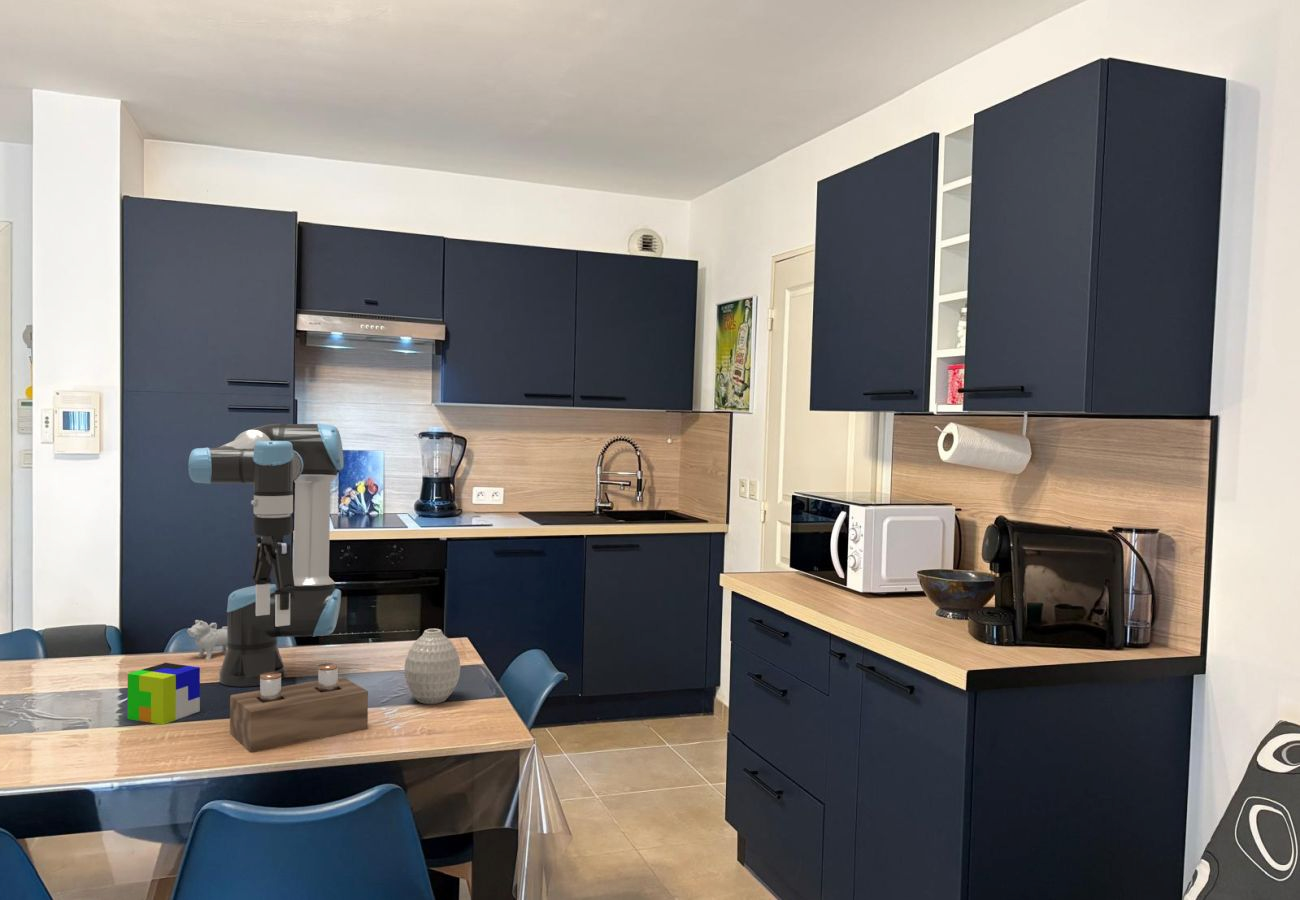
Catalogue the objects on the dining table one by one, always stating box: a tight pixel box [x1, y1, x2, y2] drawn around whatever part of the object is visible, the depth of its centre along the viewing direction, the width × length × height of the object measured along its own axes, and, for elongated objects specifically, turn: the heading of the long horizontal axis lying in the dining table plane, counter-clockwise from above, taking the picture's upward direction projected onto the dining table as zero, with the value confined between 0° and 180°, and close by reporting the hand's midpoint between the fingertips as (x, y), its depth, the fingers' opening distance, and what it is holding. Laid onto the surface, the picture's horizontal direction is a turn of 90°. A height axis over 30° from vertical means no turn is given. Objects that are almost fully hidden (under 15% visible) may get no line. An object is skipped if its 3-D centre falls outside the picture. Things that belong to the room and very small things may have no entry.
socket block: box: [229, 676, 369, 753], centre depth 196 cm, size 14×24×8 cm, turn 130°
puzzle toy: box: [127, 662, 201, 726], centre depth 204 cm, size 10×10×10 cm
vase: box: [403, 628, 461, 705], centre depth 218 cm, size 13×13×17 cm
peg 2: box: [317, 662, 339, 693], centre depth 199 cm, size 4×4×8 cm
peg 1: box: [259, 672, 282, 703], centre depth 192 cm, size 4×4×8 cm
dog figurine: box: [186, 619, 227, 661], centre depth 254 cm, size 5×13×11 cm, turn 145°
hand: (272, 620), depth 191 cm, fingers open, 12 cm apart
